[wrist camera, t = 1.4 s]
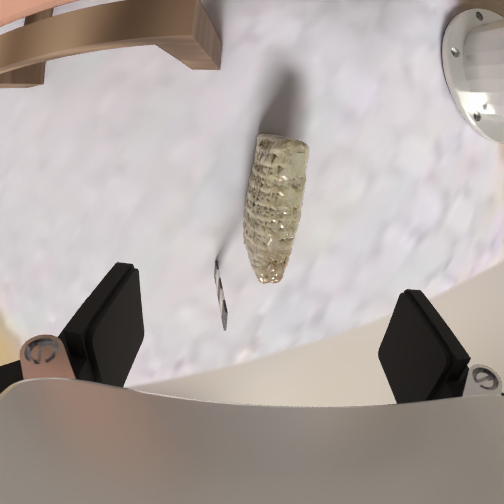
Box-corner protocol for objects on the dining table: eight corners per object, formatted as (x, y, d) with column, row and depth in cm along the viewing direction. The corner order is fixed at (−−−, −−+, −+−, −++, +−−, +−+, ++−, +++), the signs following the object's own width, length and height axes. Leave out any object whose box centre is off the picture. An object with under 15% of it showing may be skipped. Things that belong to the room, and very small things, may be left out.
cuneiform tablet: (214, 275, 27) (226, 126, 22) (266, 276, 28) (287, 132, 23) (223, 330, 20) (241, 135, 15) (290, 328, 21) (324, 144, 16)
